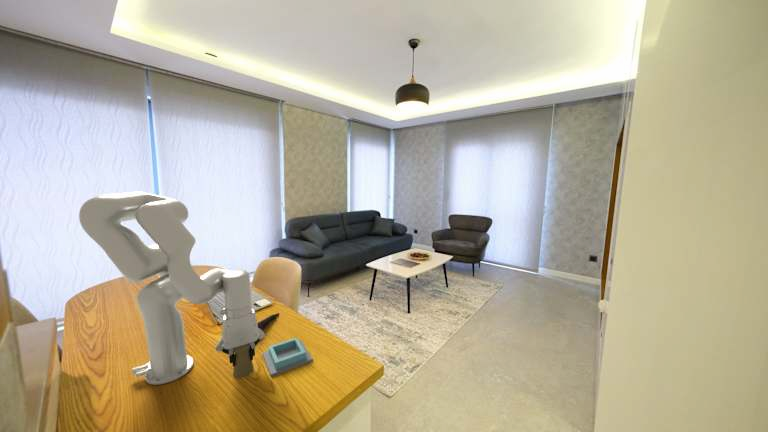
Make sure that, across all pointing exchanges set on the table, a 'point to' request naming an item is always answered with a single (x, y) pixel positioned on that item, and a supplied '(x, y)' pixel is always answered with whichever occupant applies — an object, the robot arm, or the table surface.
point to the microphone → (266, 321)
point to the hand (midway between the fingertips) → (242, 360)
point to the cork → (242, 361)
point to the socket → (286, 356)
